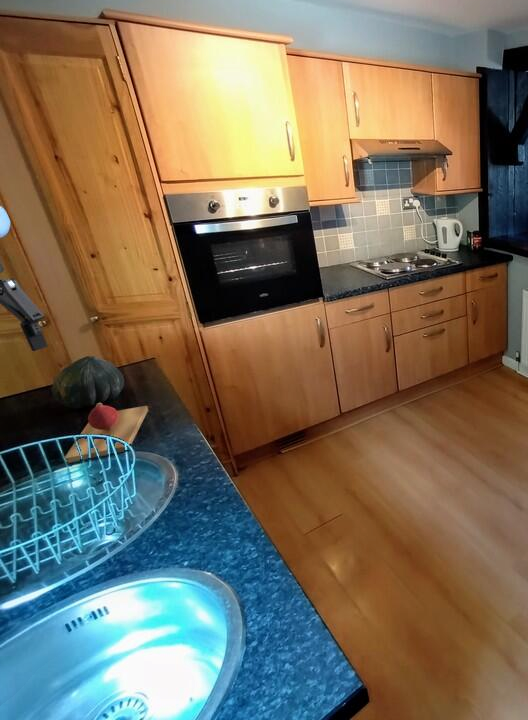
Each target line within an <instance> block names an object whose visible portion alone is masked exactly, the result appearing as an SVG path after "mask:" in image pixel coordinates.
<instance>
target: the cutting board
mask: <svg viewBox="0 0 528 720" xmlns="http://www.w3.org/2000/svg"><path fill="white" fill-rule="evenodd" d="M116 411H117V412H118V414H119V419H118V421H117V423H116V424H115V425H114V426H113V427H112V429H110V430H98V429H95V428H93V427H91V425H90V424H89V421H88V422H87V424H86V426H85V427H84V428H83V430H82V431H81V433H80V434H79V436H80V435H81V434H103V435H110V436H114V437H117V438H120V439H122V440H124V441H126V442H127V443H128V444H131V445H133V442H134V440H135V438H136V437H137V434H138V432H139V430H140V428H141V426H142V424H143V422H144V420H145V418H146V416H147V414H148V412H149V408H148V405H143V406H137V407H132V408H131V407H130V408H126V409H125V408H124V409H120V410H116ZM77 439H78V438H77ZM78 443H79V447H80V449H81V456H82V459H83V460H82V461H85V460H89V459H88V441H87V439H85V438H81V439H78ZM94 446H95V447H96V448H97V449H98V452H99V455H100V457H106V456H108V455H107V451H108V449H107V444H106V440H104V439H94ZM115 448H116V450H117V451H118V453H117V454H119V453H124V450H125V448H124V445H123V444H121V443H119V442H116V443H115ZM64 458H66V460H67V462H68V463H67V464H72V463H76V462H81V461H80V459H81V458H80V455H79V452H78V450H77V447H76V444H75V442H74V443H73V444H72V446H71V447H70V449H69V450H68V452H67V453H66V455H65V456H64ZM96 458H98V457H97V455H96V451H95V449H94V448H91V459H96Z"/></svg>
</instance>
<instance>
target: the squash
mask: <svg viewBox="0 0 528 720" xmlns="http://www.w3.org/2000/svg"><path fill="white" fill-rule="evenodd" d="M124 385H125V379H124V376H123V374H122V372H121V371H120V370H119V369H118V368H117V367H116V366H115V364H113V363H112V362H110V361H107V360H105V359H103V358H100V357H97V356H94V355H87V356H84V357H81V358H79V359H77V360H75V361H73V362H72V363H71V364H69V365H67V366H65V367H64V368H63V369H62V370H61V371H60V372H59V373H57V375H56V376H55V378H54V380H53V383H52V386H51V391H52V395H53V398H54V399H55V400H56V401H57V402H58V403H59V404H61V405H62V406H65V407H69V408H71V409H82V408H84V407H86V406H87V407H92V406H94V405H96V404H98V403H102V404H103V403H104V402H109V401H113V400H115V399H116V398H117V397H118V396H119V394H120V393H121V391H122V390H123V388H124Z"/></svg>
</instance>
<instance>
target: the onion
mask: <svg viewBox="0 0 528 720" xmlns="http://www.w3.org/2000/svg"><path fill="white" fill-rule="evenodd" d="M117 411H118V410H117V409H116V408H114V407H112V406H109V405H104V404H103V402H102V403H96V404H95V406H94V407H93V408H92V409H91V411H90V412H89V413H88V416H87V417H88V422H89V424H90V425H91V427H93V428H95V429H98V430H110V429H112V427H113V426H114V425H115V424H116V423H117V421H118V419H119V414H118V412H117Z"/></svg>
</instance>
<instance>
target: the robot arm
mask: <svg viewBox="0 0 528 720" xmlns="http://www.w3.org/2000/svg"><path fill="white" fill-rule="evenodd" d="M10 228H11V220H10V218H9V215H8V213H7V211H6V210H5V208H4V207H3V206H1V205H0V239H1V238H4V237H5V236H6V235H7V234H8V232H10ZM4 271H5V268H4V265H3V263H2V261H1V260H0V274H1V273H3V272H4ZM0 305H1V306H3V307H4V308H5V309H6V310H7V311H8V312H10V313H11V314H12V315H13V316H14V317H15V318H16V319H18V320H19V321H20V324H19V325H20V327H21V330H22V332H23V334H24V336H25V339H26V341H27V344H28V345H29V347H30V349H31V351H32V352H37V351H40V350H42V349H44V348H46V347H48V343H47V341H46V339H45V337H44V335H43V331H42V328H41V326H40V324H39V321H40V320H43V319H45V317H46V315H44V313H43V312H42V311H41V310H40V309H39V308H38V306H37V305H36V304H35V303H34V302H33V301H32V299H31V298H30V297H29V295H27V294H26V293H25V292H24V290H23V289H22V288H21V287H20V284H19V283H18V281H17V279H16V278H8V279H4V278H2V276H1V275H0Z"/></svg>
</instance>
